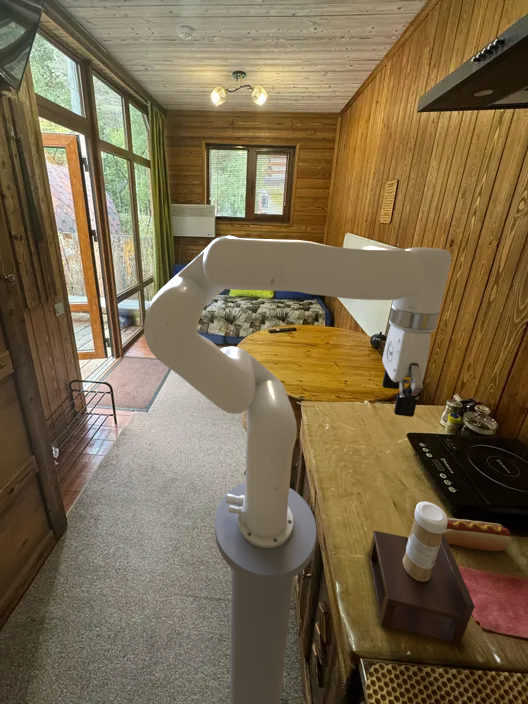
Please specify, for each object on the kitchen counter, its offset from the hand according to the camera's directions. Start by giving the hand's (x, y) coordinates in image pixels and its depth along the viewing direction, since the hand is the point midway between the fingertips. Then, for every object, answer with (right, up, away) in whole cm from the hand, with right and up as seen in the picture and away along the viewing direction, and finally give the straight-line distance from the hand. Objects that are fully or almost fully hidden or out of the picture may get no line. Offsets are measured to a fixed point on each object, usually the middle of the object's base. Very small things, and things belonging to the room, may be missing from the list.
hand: (396, 400), depth 61 cm
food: (+19, -32, +6) cm, 38 cm away
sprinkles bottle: (+1, -29, -6) cm, 29 cm away
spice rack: (0, -35, -4) cm, 35 cm away
